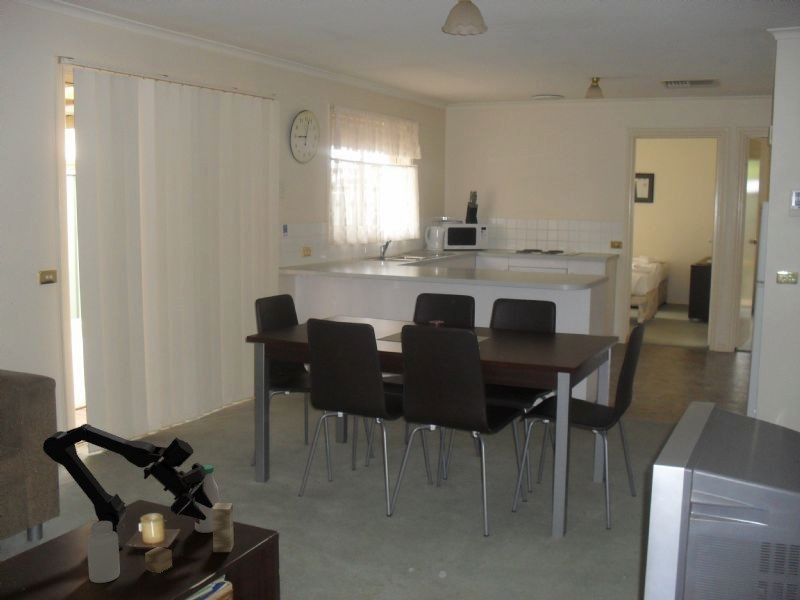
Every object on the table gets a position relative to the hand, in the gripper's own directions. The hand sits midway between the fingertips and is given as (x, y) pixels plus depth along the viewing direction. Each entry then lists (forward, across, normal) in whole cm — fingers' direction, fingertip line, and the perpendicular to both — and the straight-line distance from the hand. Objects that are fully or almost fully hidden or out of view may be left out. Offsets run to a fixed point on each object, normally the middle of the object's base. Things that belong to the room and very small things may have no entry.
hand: (208, 513), depth 235 cm
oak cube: (0, -13, +16) cm, 20 cm away
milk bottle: (+5, +15, +10) cm, 19 cm away
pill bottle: (-10, -18, +25) cm, 33 cm away
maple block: (+10, 0, +5) cm, 12 cm away
